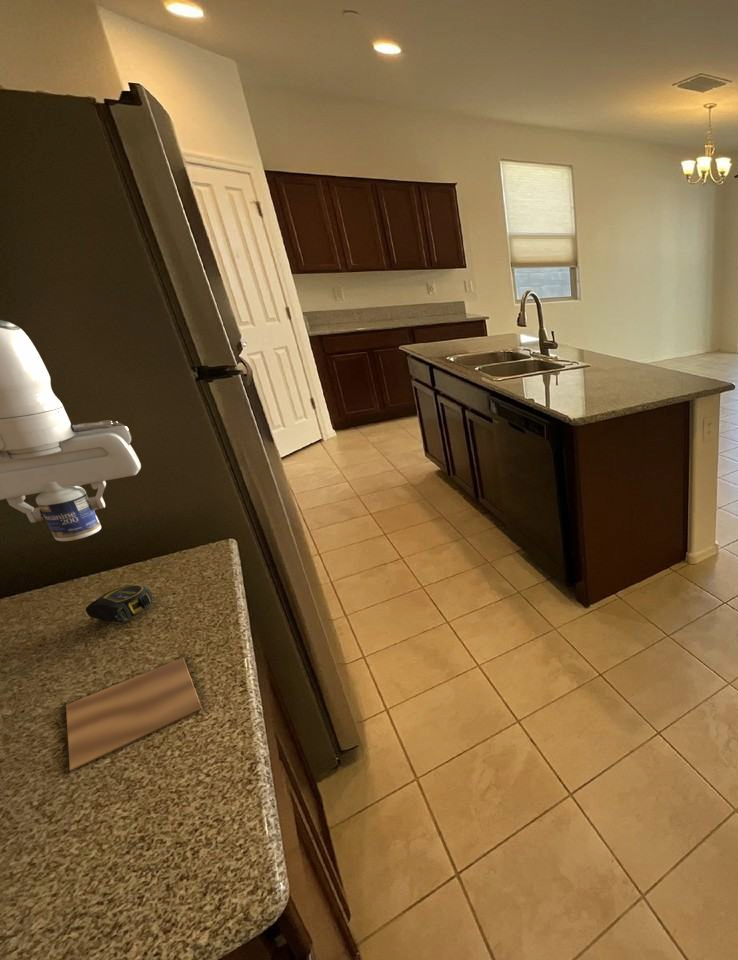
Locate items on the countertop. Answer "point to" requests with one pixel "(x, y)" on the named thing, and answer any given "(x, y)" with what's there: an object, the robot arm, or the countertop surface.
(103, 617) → the tape measure
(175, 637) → the countertop surface
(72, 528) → the pill bottle
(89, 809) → the countertop surface
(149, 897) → the countertop surface
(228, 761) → the countertop surface
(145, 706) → the wooden board
